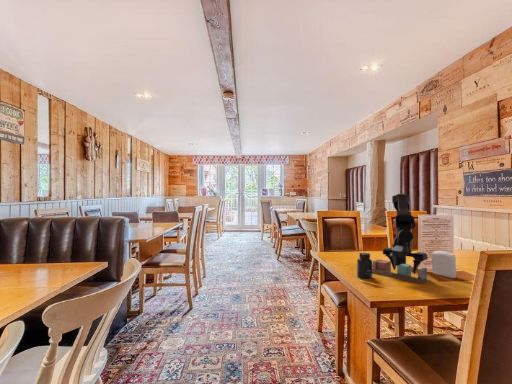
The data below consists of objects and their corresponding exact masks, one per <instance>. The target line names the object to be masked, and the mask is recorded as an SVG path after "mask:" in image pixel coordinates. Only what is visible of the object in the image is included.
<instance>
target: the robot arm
mask: <svg viewBox="0 0 512 384" xmlns="http://www.w3.org/2000/svg"><path fill="white" fill-rule="evenodd" d="M391 203H392V204H393V208H394V209H395V212H396V215H395V216H394V221H395V222H394V223H395V228H396V237H394V239H393V243H392V247H385V248H383V250H382V255H385V257H387V258H388V259H389V261H391V267H392V268H393V270H394V271H395V270H396V269H397V266H398V265H400V264H407V265H409V264H408V263H407V257H410V258H413V260H412V262H413V268H412V269H413V270H412V272H413V275H415V274H416V273H417V272H418V270H419V269H418V268H419V267H420V265H421V263H422V262H425V260H428V254H427V253H426V252H421V251H417V252H413V250H412V249H411V248H412V244H413V239H414V234H413V233H412V232H411V231H412V230H411V229H413V230H414V229H415V227H416V223H415V221H416V220H415V218H414V215H413V214H412V212H411V211H410V210H409V208H408V207H409V204H410V195H408V194H406V193H397V194H396V195H395V194H394V195H392V197H391Z"/></svg>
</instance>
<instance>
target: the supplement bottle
mask: <svg viewBox="0 0 512 384" xmlns="http://www.w3.org/2000/svg"><path fill="white" fill-rule="evenodd" d="M356 263H357V264H356V276H357V278H358V279H363V280H369V279H371V280H372V279H373V273H372V268H373V267H372V264H373V260H372V259H371V253H369V252H360V253H359V258H358V259H357V260H356Z"/></svg>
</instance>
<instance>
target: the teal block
mask: <svg viewBox="0 0 512 384" xmlns="http://www.w3.org/2000/svg"><path fill="white" fill-rule="evenodd" d="M407 264H408V263H406V264H400V265H396V269H397V270H396V272H397V273H396V274H401V275H405V276H410V277H412V264H408V265H407Z"/></svg>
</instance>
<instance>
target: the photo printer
mask: <svg viewBox="0 0 512 384" xmlns="http://www.w3.org/2000/svg"><path fill="white" fill-rule="evenodd" d="M456 259H457V257H456V255H455V254H453V253H451V252H449V251H445V250H435V251H432V254H431V268H432V269H431V271H432V274H435V275H438V276H442V277H446V278H449V279H450V278H451V279H456V277H457V267H456V266H457V265H456V264H457V263H456V262H457V261H456Z"/></svg>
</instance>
